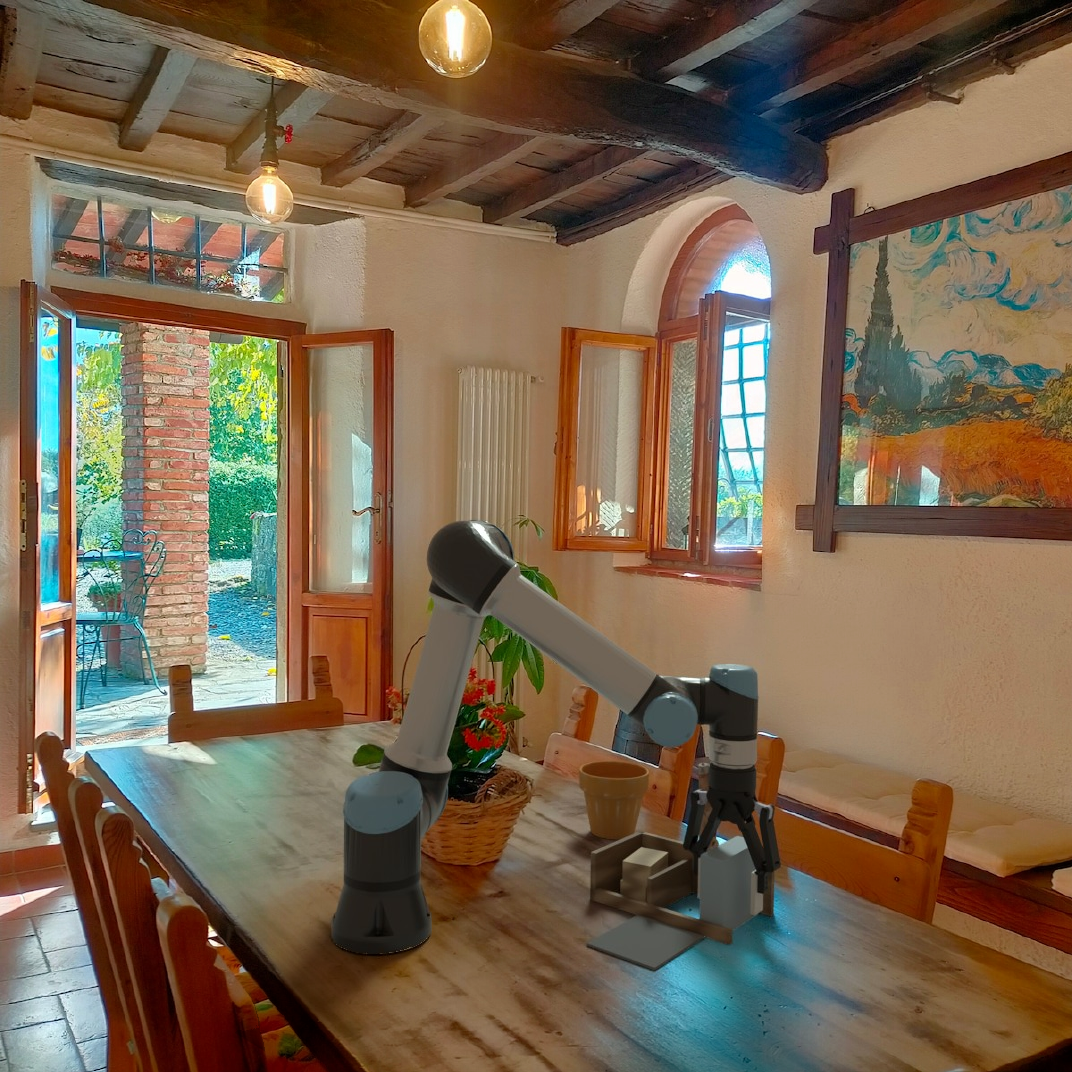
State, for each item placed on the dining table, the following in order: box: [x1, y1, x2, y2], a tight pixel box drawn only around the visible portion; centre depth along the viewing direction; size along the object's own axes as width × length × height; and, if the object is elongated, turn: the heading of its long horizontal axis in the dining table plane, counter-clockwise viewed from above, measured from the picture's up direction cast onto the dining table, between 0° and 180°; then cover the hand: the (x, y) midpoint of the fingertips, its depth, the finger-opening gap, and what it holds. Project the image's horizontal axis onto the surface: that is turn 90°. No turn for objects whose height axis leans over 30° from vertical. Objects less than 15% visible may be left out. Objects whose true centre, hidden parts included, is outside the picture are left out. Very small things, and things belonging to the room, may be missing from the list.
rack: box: [589, 830, 776, 946], centre depth 160 cm, size 26×15×8 cm, turn 50°
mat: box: [586, 914, 705, 971], centre depth 147 cm, size 12×14×1 cm
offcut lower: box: [619, 880, 647, 903], centre depth 164 cm, size 5×8×4 cm, turn 141°
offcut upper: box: [622, 847, 668, 887], centre depth 164 cm, size 5×8×4 cm, turn 151°
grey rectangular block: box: [698, 835, 759, 932], centre depth 154 cm, size 4×12×12 cm, turn 140°
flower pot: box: [578, 760, 650, 840], centre depth 197 cm, size 14×14×13 cm
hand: (729, 903), depth 154 cm, fingers open, 9 cm apart
